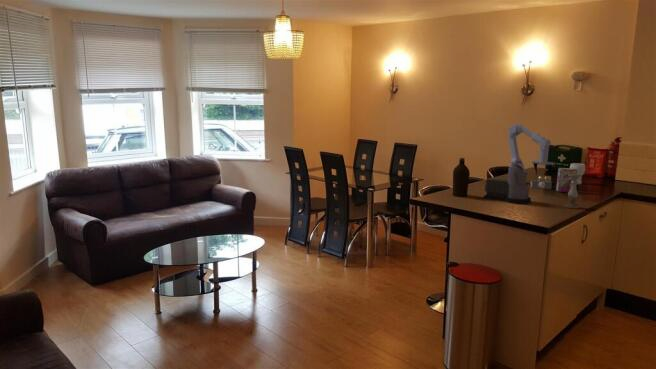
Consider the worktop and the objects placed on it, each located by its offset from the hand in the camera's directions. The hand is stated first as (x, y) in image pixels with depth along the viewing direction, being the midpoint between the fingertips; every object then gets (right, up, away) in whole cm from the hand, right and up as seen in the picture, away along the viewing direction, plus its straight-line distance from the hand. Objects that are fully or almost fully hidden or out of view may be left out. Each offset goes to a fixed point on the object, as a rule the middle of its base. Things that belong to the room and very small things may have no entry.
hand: (541, 174), depth 369 cm
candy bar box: (+10, -13, -14) cm, 22 cm away
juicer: (-41, -18, -45) cm, 63 cm away
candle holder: (-8, -21, -62) cm, 66 cm away
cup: (+34, -7, +19) cm, 39 cm away
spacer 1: (0, -6, +2) cm, 6 cm away
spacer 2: (+12, -6, +19) cm, 24 cm away
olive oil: (-68, -15, -33) cm, 77 cm away
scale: (0, -9, +3) cm, 9 cm away
